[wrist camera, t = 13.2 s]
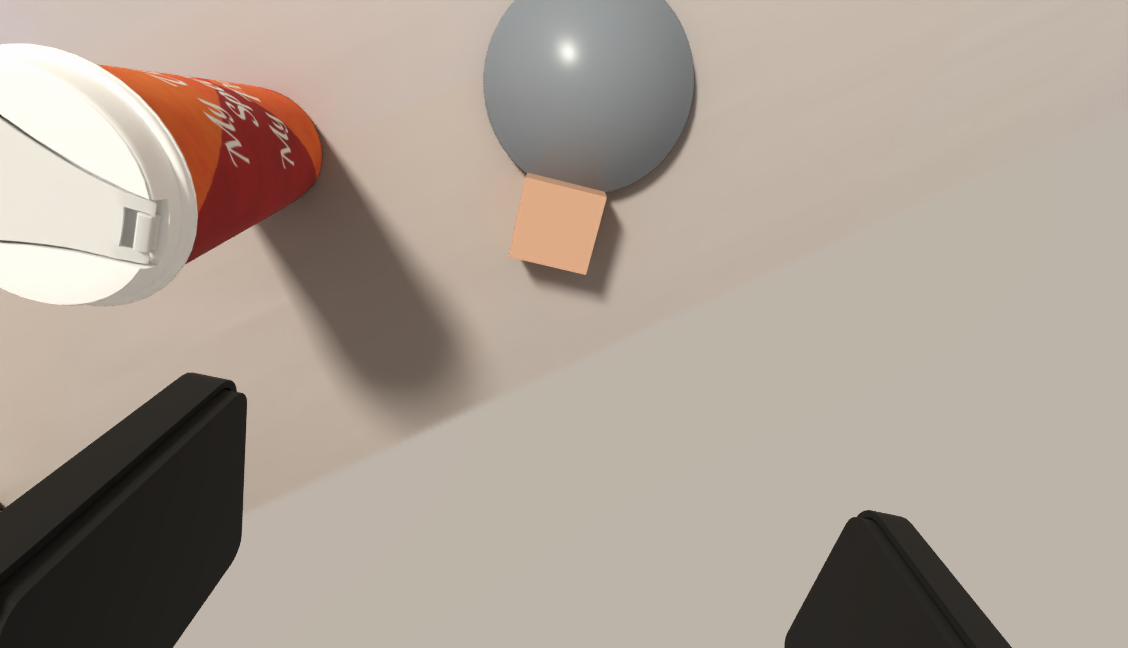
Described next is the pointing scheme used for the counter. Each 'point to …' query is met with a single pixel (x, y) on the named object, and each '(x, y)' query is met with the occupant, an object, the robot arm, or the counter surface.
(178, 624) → the robot arm
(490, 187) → the counter surface
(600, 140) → the gray paddle
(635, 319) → the counter surface
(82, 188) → the paper cup
